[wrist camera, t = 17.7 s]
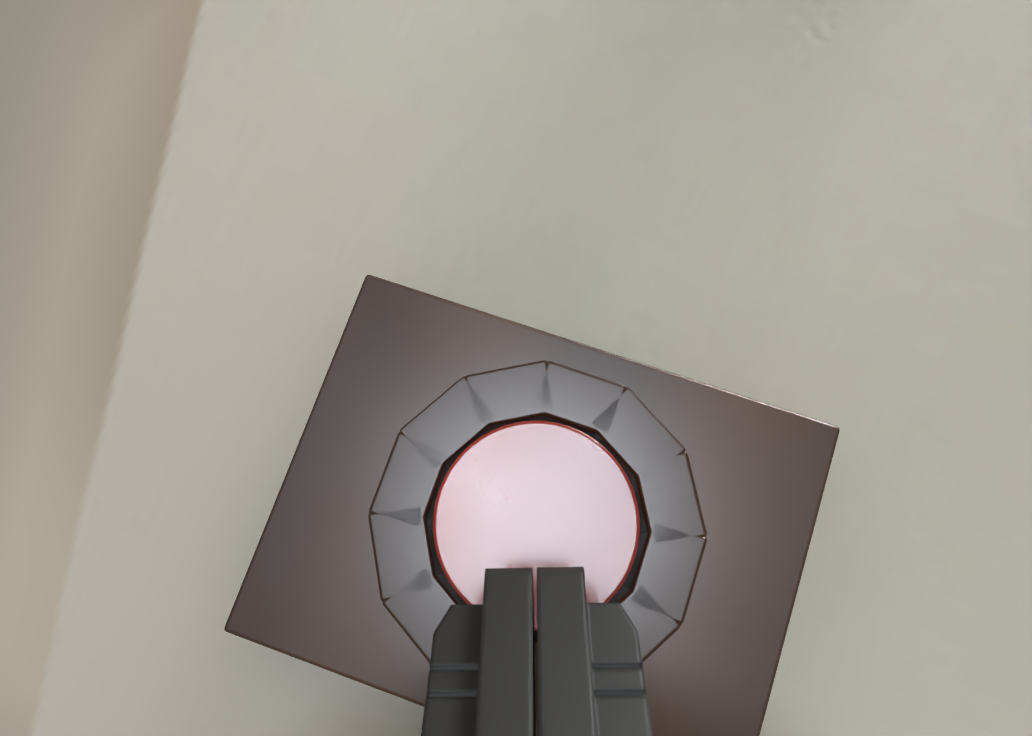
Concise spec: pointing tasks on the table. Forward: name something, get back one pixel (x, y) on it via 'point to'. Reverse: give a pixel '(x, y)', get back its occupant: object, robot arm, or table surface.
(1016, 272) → the table surface
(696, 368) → the table surface
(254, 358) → the table surface
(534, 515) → the button
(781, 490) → the button block
